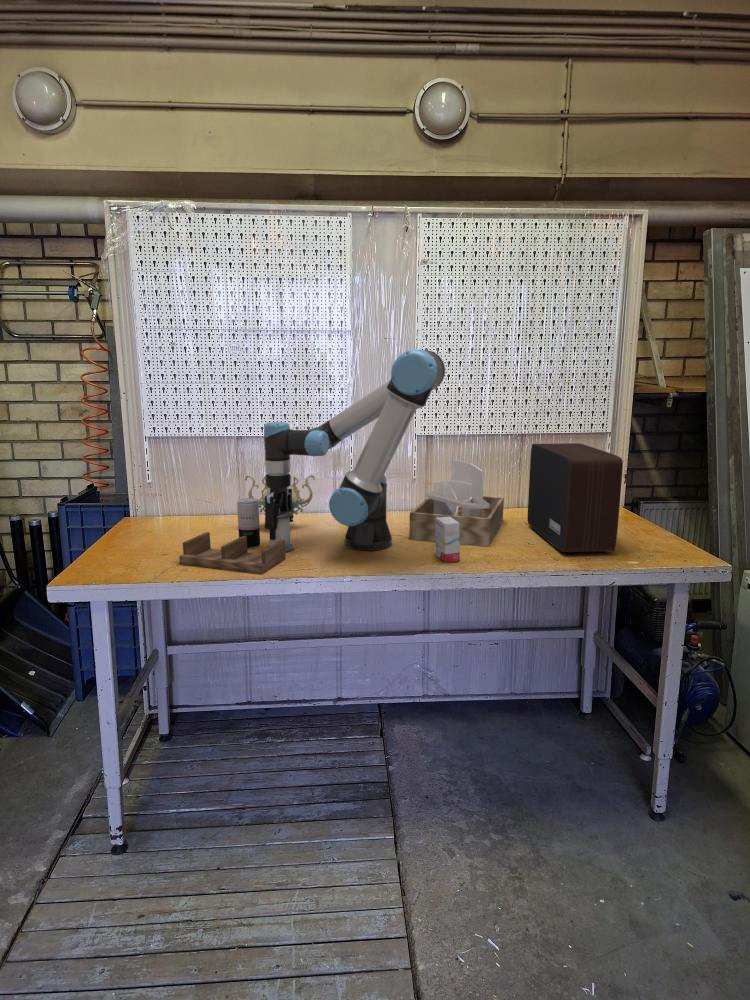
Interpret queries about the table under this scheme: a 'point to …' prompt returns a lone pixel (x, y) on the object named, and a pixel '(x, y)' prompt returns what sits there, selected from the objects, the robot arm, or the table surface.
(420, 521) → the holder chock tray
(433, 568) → the table surface
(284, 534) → the cable reel
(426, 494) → the architectural model
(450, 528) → the ink box
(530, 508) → the brown wooden speaker
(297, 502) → the ornate lidded vase
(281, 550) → the wooden divided tray
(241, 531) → the beverage can
